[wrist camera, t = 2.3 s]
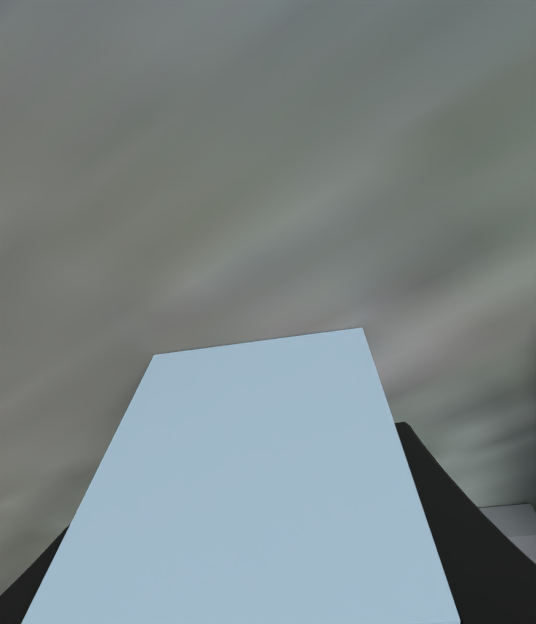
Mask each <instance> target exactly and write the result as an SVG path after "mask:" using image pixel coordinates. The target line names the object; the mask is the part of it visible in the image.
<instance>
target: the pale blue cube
mask: <svg viewBox="0 0 536 624" xmlns="http://www.w3.org/2000/svg"><path fill="white" fill-rule="evenodd" d="M21 624H460V618H459V615H458V612H457V609H456V606H455V603H454V600H453V597H452V594H451V591H450V588H449V585H448V582H447V579H446V576H445V573H444V570H443V567H442V564H441V561H440V558H439V555H438V552H437V549H436V546H435V543H434V540H433V537H432V534H431V531H430V528H429V525H428V522H427V519H426V516H425V514H424V511H423V508H422V505H421V502H420V499H419V496H418V493H417V490H416V487H415V484H414V481H413V478H412V475H411V472H410V469H409V466H408V463H407V460H406V457H405V454H404V451H403V448H402V445H401V442H400V439H399V436H398V433H397V430H396V427H395V424H394V421H393V418H392V415H391V412H390V409H389V406H388V403H387V400H386V397H385V394H384V391H383V388H382V385H381V382H380V379H379V376H378V373H377V370H376V367H375V364H374V361H373V358H372V355H371V352H370V349H369V346H368V343H367V340H366V337H365V334H364V331H363V328H355V329H347V330H340V331H332V332H324V333H317V334H309V335H302V336H294V337H287V338H279V339H271V340H264V341H256V342H249V343H241V344H234V345H226V346H219V347H211V348H203V349H196V350H188V351H181V352H173V353H166V354H158V355H154V356H153V358H152V360H151V362H150V364H149V366H148V368H147V370H146V372H145V374H144V376H143V379H142V381H141V383H140V385H139V387H138V389H137V391H136V393H135V395H134V397H133V399H132V401H131V403H130V405H129V407H128V409H127V411H126V413H125V415H124V417H123V419H122V421H121V423H120V425H119V427H118V429H117V431H116V433H115V435H114V437H113V439H112V441H111V443H110V445H109V447H108V449H107V451H106V453H105V455H104V457H103V459H102V461H101V463H100V466H99V468H98V470H97V472H96V474H95V476H94V478H93V480H92V482H91V484H90V486H89V488H88V490H87V492H86V494H85V496H84V498H83V500H82V502H81V504H80V506H79V508H78V510H77V512H76V514H75V516H74V518H73V520H72V522H71V524H70V526H69V528H68V530H67V532H66V534H65V536H64V538H63V540H62V542H61V544H60V546H59V548H58V550H57V552H56V555H55V557H54V559H53V561H52V563H51V565H50V567H49V569H48V571H47V573H46V575H45V577H44V579H43V581H42V583H41V585H40V587H39V589H38V591H37V593H36V595H35V597H34V599H33V601H32V603H31V605H30V607H29V609H28V611H27V613H26V615H25V617H24V619H23V621H22V623H21Z"/></svg>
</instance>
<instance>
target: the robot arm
mask: <svg viewBox="0 0 536 624" xmlns="http://www.w3.org/2000/svg"><path fill="white" fill-rule="evenodd" d="M394 424H395V427H396V430H397V433H398V436H399V439H400V442H401V445H402V448H403V451H404V454H405V457H406V460H407V463H408V466H409V469H410V472H411V475H412V478H413V481H414V484H415V487H416V490H417V493H418V496H419V499H420V502H421V505H422V508H423V511H424V514H425V516H426V519H427V522H428V525H429V528H430V531H431V534H432V537H433V540H434V543H435V546H436V549H437V552H438V555H439V558H440V561H441V564H442V567H443V570H444V573H445V576H446V579H447V582H448V585H449V588H450V591H451V594H452V597H453V600H454V603H455V606H456V609H457V612H458V615H459V618H460V624H536V564H535V563H534V562H533V561H532V560H531V559H530V558H529V557H527V556H526V555H525V554H524V553H523V552H522V551H521V550H520V549H519V548H518V547H517V546H516V545H515V544H514V543H512V542H511V541H510V540H509V539H508V538H507V537H506V536H505V535H504V534H503V533H502V532H501V531H500V530H499V529H498V528H497V527H496V526H495V525H494V524H493V523H492V522H491V521H490V520H489V519H488V518H487V517H486V516H485V515H484V514H483V513H482V512H481V511H480V510H479V508H478V507H477V506H476V505H475V504H474V503H473V502H472V501H471V500H470V499H469V498H468V497H467V496H466V494H465V493H464V492H463V491H462V490H461V489H460V488H459V487H458V486H457V484H456V483H455V482H454V481H453V480H452V479H451V478H450V477H449V475H448V474H447V473H446V472H445V471H444V470H443V468H442V467H441V466H440V465H439V464H438V462H437V461H436V460H435V459H434V457H433V456H432V455H431V454H430V452H429V451H428V450H427V449H426V447H425V446H424V445H423V443H422V442H421V441H420V439H419V438H418V437H417V435H416V434H415V432H414V431H413V429H412V428H411V426H410V425H408V424H407V423H406V422H400V423H394ZM70 524H71V523H70ZM70 524H69V526H70ZM69 526H68V527H67V528H66V529H65V530H64V531H63V532H62V533H61V534H60V535H59V536H58V537H57V538H56V539H55V541H54V542H53V543H52V544H51V545H50V546H49V547H48V548H47V549H46V550H45V551H44V552H43V553H42V554H41V555H40V557H39V558H38V559H37V560H36V561H35V562H34V563H33V564H32V565H31V566H30V567H29V568H28V569H27V570H26V571H25V572H24V573H23V574H22V575H21V576H20V577H19V578H18V579H17V580H16V581H15V582H14V583H13V584H12V585H11V586H10V587H9V588H8V589H7V590H6V591H5V592H4V593H3V594H2V595H1V596H0V624H21V623H22V621H23V619H24V617H25V615H26V613H27V611H28V609H29V607H30V605H31V603H32V601H33V599H34V597H35V595H36V593H37V591H38V589H39V587H40V585H41V583H42V581H43V579H44V577H45V575H46V573H47V571H48V569H49V567H50V565H51V563H52V561H53V559H54V557H55V555H56V552H57V550H58V548H59V546H60V544H61V542H62V540H63V538H64V536H65V534H66V532H67V530H68V528H69Z"/></svg>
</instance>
